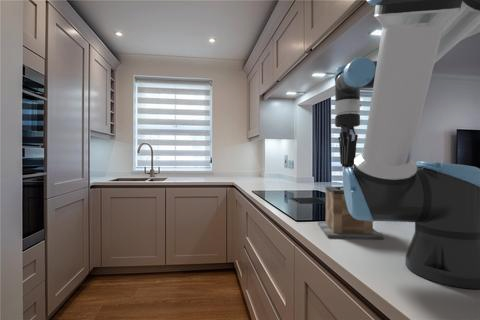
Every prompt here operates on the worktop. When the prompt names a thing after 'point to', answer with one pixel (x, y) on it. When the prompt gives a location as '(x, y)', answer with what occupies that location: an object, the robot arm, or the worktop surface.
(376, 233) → the tan stepped shape
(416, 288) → the worktop surface
